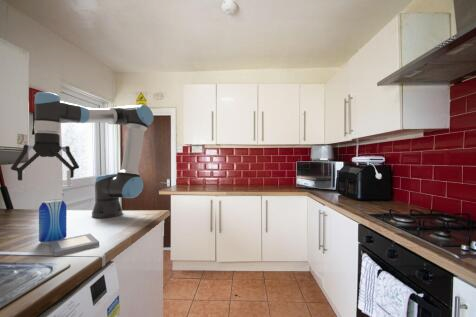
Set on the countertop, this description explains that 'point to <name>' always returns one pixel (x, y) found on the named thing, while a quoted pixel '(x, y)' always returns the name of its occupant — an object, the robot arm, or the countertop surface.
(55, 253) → the plate
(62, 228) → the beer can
